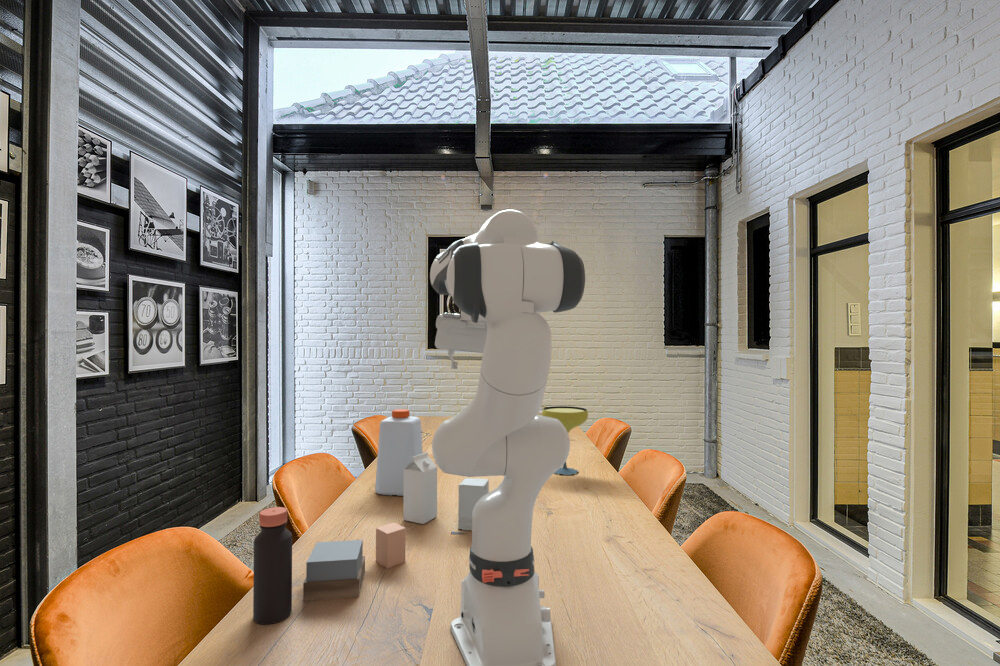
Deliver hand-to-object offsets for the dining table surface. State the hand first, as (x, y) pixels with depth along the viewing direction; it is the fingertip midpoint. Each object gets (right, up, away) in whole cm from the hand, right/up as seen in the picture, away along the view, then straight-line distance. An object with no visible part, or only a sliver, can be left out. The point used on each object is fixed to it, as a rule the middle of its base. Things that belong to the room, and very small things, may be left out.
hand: (472, 370), depth 124 cm
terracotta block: (-19, -45, -6) cm, 50 cm away
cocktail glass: (+33, -46, +73) cm, 93 cm away
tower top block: (-29, -42, -17) cm, 53 cm away
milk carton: (-17, -46, +22) cm, 53 cm away
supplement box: (-1, -46, +16) cm, 49 cm away
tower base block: (-29, -46, -17) cm, 57 cm away
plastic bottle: (-28, -46, +50) cm, 73 cm away
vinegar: (-37, -45, -29) cm, 65 cm away
